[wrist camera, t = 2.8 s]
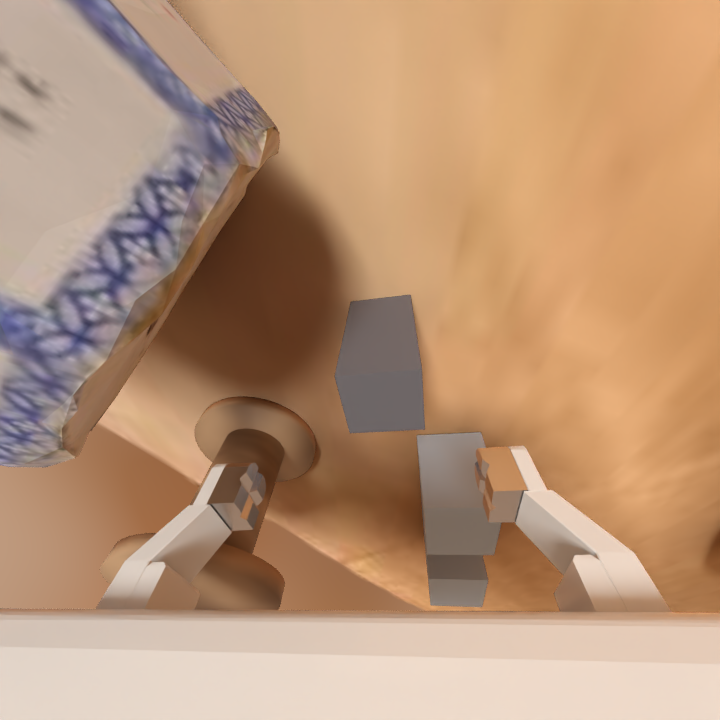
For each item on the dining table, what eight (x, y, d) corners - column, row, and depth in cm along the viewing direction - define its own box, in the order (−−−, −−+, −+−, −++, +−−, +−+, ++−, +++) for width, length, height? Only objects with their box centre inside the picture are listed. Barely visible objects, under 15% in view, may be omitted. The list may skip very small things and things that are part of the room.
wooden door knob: (297, 392, 22) (240, 556, 14) (327, 471, 28) (300, 622, 19) (178, 401, 24) (57, 553, 15) (229, 474, 30) (163, 615, 21)
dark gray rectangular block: (410, 294, 17) (421, 369, 12) (413, 345, 19) (424, 429, 14) (350, 301, 18) (334, 376, 12) (360, 350, 20) (349, 433, 14)
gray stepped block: (480, 432, 24) (505, 507, 19) (468, 541, 35) (482, 607, 30) (416, 435, 24) (423, 508, 20) (424, 541, 35) (430, 605, 30)
